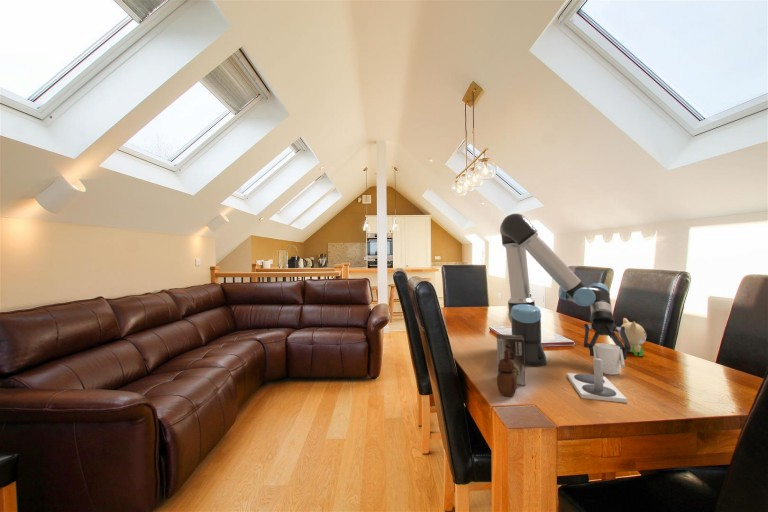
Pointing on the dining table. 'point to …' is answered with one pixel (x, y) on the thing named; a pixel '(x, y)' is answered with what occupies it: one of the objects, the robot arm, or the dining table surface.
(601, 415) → the dining table surface
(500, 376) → the wooden figurine
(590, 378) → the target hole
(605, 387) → the board
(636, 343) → the kitten
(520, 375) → the coffee box
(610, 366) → the white cup
